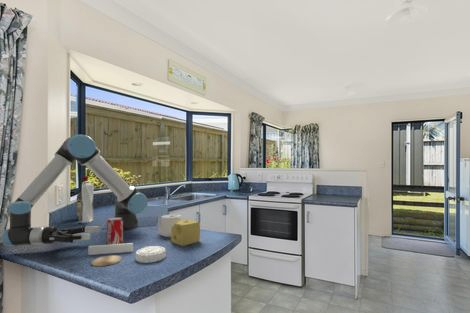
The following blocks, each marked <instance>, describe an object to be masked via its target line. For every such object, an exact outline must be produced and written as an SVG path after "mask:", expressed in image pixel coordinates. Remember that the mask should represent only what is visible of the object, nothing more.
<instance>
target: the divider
mask: <svg viewBox="0 0 470 313" xmlns="http://www.w3.org/2000/svg"><path fill="white" fill-rule="evenodd" d="M133 252H134V243H133V242H129V243H128V242H127V243H123V244H111V245H107V244H98V245H96V244H95V245H89V246H88V256H92V255H106V254H107V255H108V254H118V253H121V254H122V253H133Z"/></svg>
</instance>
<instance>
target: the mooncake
mask: <svg viewBox="0 0 470 313" xmlns="http://www.w3.org/2000/svg"><path fill="white" fill-rule="evenodd" d="M166 256H167V249H166V248H165V247H163V246H161V245H160V246H159V245H148V246H143V247H142V248H139V249H138V250H136V252H135V261H136V262H138V263H143V264H144V263H145V264H148V263H157V262H159V261H161V260H164V259H165V258H166Z"/></svg>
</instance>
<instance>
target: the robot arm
mask: <svg viewBox="0 0 470 313" xmlns="http://www.w3.org/2000/svg"><path fill="white" fill-rule="evenodd" d="M75 161H76V162H77V163H78V164H79V165H80V166H86V168H88V169H89V170H90V171H91V172H92V173H93V174H94V175H95V176H96V177H97V178H98V179H99V180H100V181H101V182H102V183H103V184H104V186H106V187H107V188H108V189H109V190H110V191H111V192H112V193H113V195H114V207H115V208H114V212H115V213H114V217H121V218H122V220H123V231H124V230H125V231H126V230H133V229H135V228H138V227H139V220H138V218H137V214H141V213H143V212H144V211H145V210H146V208H148V197H147V196H146V195H145V194H144V193H142V192H140V191H139V189H137V188H136V187H135V186H133V185H130V184H129V183H127V182H126V181H125V180H124V178H123V177H122V176H121V175H120V174H119V173H118V172H117V171H116V170H115V169H114V168H113V167H112V166H111V165H110V164H109V163H108V162H107V160H105V158H103V156H101V150H100V149H99V148H98V147H97V146H96V142H95V141H94V139H93V138H91V137H90V136H88V135H86V134H75V135H73V136H70V137H68V138H66V139H65V140H64V141H63V143H62V144H61V146H60V147H59V148H58V150H56V151H55V153H54V157H53V158H52V160H51V161H50V162H49V163H48V164H47V165H46V166H45V167H44V168H43V170H41V172H39V174H38V175H37V176H36V177H35V178H34V179H33V180H32V181H31V183H30V184H29V185H28V186H27V187H26V188H25V189H24V190H23V192H22V193H21V194H20V195H19V196H18V197H17V199H15V201H12V202H11V203H10V204H9V206H8V208H7V210H6V213H7V216H8V217H9V228H7V229H5V230H4V232H3V233H2V237H1V243H2V245H4V246H6V247H13V246H14V247H19V246H33V245H34V246H35V245H36V246H39V245H43V244H44V245H49V244H54V243H57V242H58V243H70V244H72V243H74V241H89V240H91V233H100V225H97V226H86V225H87V224H86V225H85V224H84V225H82V226H76V227H75V226H73V227H66V228H60V229H59V230H58V229H57V227H56V226H38V227H37V226H36V227H32V219H31V218H32V208H33V206H35V204H36V203H37V202H38V201H39V200H40V199H41V197H42V196H43V195H44V194H45V192H47V191H48V189H49V188H50V187H51V186H52V185H53V184H54V182H55V181H56V180H57V179H58V178H59V177H60V175H61V174H63V172H64V171H65V170H66V169H67V167H68V166H71V165H73V164H74V162H75Z"/></svg>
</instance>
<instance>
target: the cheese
mask: <svg viewBox="0 0 470 313" xmlns="http://www.w3.org/2000/svg"><path fill="white" fill-rule="evenodd" d="M200 225H201V224H200V222H199V221H196V220H192V219H181V221H177V222H176V223H175V224H174V226H172V229H171V232H172V235H171V237H170V242H171V243H174V244H176V245H179V246H182V247H185V246H188V245H191V244H194V243H198V242H200V238H201V226H200Z"/></svg>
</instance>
